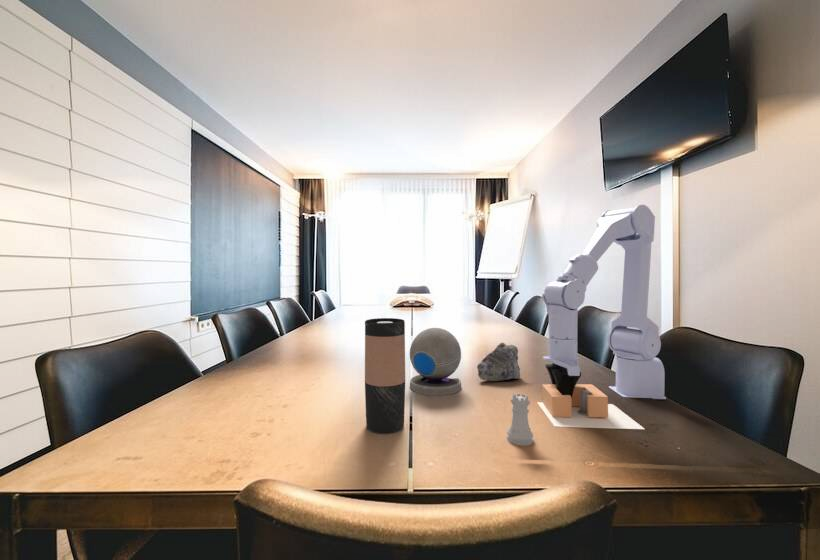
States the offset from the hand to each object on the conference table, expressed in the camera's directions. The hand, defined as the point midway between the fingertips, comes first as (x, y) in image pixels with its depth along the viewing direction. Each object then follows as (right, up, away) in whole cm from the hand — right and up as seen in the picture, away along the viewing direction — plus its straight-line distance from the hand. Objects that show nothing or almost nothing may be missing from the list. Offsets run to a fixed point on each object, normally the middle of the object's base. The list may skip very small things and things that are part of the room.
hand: (562, 400), depth 81 cm
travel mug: (-37, -2, -9) cm, 39 cm away
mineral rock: (-9, -1, +21) cm, 23 cm away
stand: (+3, -2, -5) cm, 6 cm away
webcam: (-26, -2, +15) cm, 30 cm away
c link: (+1, -1, -3) cm, 3 cm away
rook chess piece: (-14, -2, -16) cm, 22 cm away
